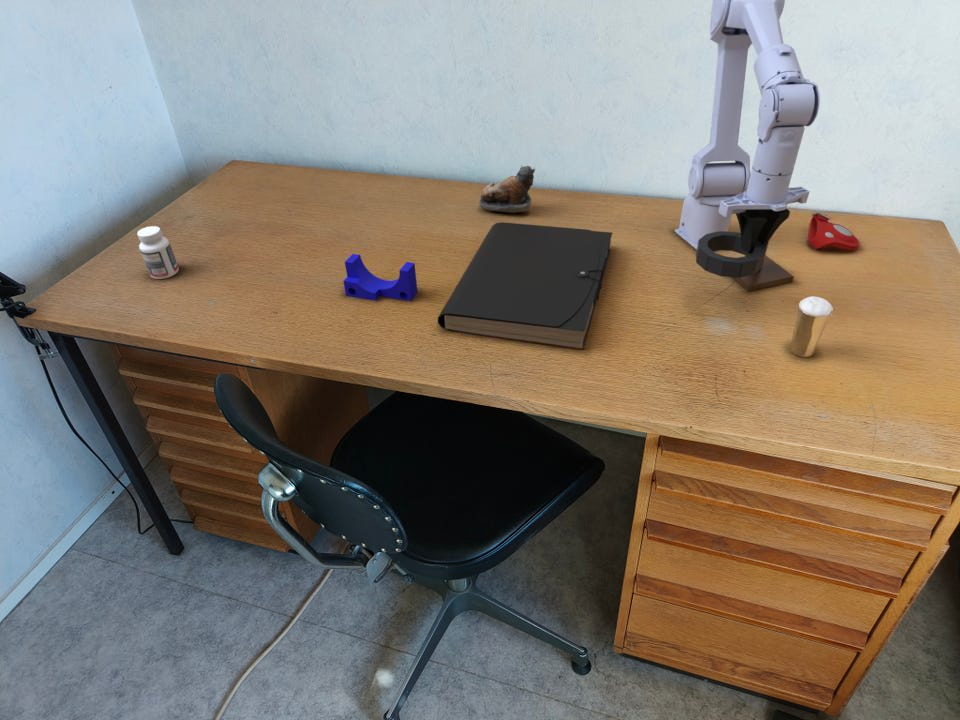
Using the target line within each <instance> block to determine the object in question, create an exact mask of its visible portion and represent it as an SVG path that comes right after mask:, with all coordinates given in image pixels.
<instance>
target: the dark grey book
mask: <svg viewBox="0 0 960 720" xmlns="http://www.w3.org/2000/svg"><path fill="white" fill-rule="evenodd" d="M612 237H613V232H612V231H598V230H591V229H584V228H573V227H563V226H550V225H539V224H538V225H537V224H528V223H527V224H526V223H515V222H503V221H501V222H500V221H499V222H496V223H494V224H493V225H492V226H491V227H490V228H489V230H488V232H487V234H486V236H485V237H484V239H483V241H482V242H481V244H480V245H479V247H478V248H477V250H476V253H475V254H474V256H473V258H472V259H471V261H470V263H469V264H468V266H467V267H466V269H465V271H464V273H463V274H462V276H461V277H460V280H459V281H458V283H457V284H456V286H455V288H454V289H453V291H452V293H451V294H450V296H449V298H448V300H447V301H446V303H445V305H444V307H443V308H442V309H441V311H440V313H439V315H438V316H437V323H438V325H439V326H440V328H441V329H443V330H446V331H448V332H454V333H460V334H468V335H476V336H483V337H490V338H497V339H505V340H511V341H519V342H525V343H534V344H541V345H549V346H555V347H563V348H569V349H570V348H571V349H575V350H576V349H577V350H585V346H586V342H587V338H588V335H589V331H590V327H591V324H592V320H593V316H594V314H595V313H594V312H595V309H596V306H597V302H598V301H599V298H600V291H601V290H602V286H603V280H604V276H605V273H606V269H607V266H608V262H609V260H610V259H609V258H610V255H611V251H612V248H611V242H612Z"/></svg>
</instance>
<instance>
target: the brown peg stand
mask: <svg viewBox="0 0 960 720" xmlns="http://www.w3.org/2000/svg"><path fill="white" fill-rule="evenodd" d="M769 244H770V241H769V242H768V243H767V245H766V247H765V256H764V260H763V263H762V267H761V269H760V270H758V271H757V272H756V273H755V274H754V275H750V276H745V277H740V278H735V277H730V278H731V279H733V280H734V281H735V282H736V283H737V284H738V285H740V286H741V287H742V288H743V289H745V290H746V291H747V292H753V291H757V290H762V289H766V288H770V287H775V286H780V285H785V284H789V283H793V280H794V275H793V274H791V273H790V272H788V271H787V270H786V269H785V268H783V267H782V266H780V265H779V264H778V263H777V262H775V261H774V260H773V259H771V258H770V257H768V256H767V255H766V254H767V251H768V247H769ZM742 257H746V256H745V255H743V256H739V257H738V258H742Z"/></svg>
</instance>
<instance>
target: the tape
mask: <svg viewBox="0 0 960 720" xmlns="http://www.w3.org/2000/svg"><path fill="white" fill-rule="evenodd" d="M717 251H726V252H727V251H730V252H735V253H737V254H740V255H743V256H741V257H742V258H739V257H734V256H733V257H732V256H725V255H722V254H719V253H716V252H717ZM765 255H766V254H765V249H764V245H763V244H762V243H761V242H759V241H758V240H757V241H756V245H755V248H754V250H753V252H752V253H747V252H746V251H744V250H743V249H742V248H741V232H737V231H728V232H726V231H719V232H714V233H708V234H706V235H704V236H703V237H702V238H700V239H699V241H698V246H697V250H696V252H695V263H696V264H697V265H698V266H699V267H700V268H701V269H702V270H704V271H705V272H707V273H710V274H713V275H716V276H719V277H724V278H731V277H735V278H740V277H745V276H750V275H754V274H755V273H756V272H757V271H758V270H760V269H761V267H762V263H763V260H764V256H765ZM744 256H746V257H744Z"/></svg>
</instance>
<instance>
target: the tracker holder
mask: <svg viewBox="0 0 960 720" xmlns="http://www.w3.org/2000/svg"><path fill="white" fill-rule="evenodd" d="M811 216H812V217H811V220H810V221H809V229H808V235H807V239H806V242H807V243H808V244H809V245H810V246H811V247H813V248H814V249H816V250H818V249H821V248H823V247H835V248H836V247H837V248H839V249H843V250H848V251H856V250H857V249H858V247H859V246H860V241H859V240H858V238H857V237H856V236H855V235H854V233H853V232H851V230H849V229H848V228H846V227H845V226H843V225H841V224H838V223H834V222H830V221H831V220H832V218H831V217H830V216H829V215H827V214H826V213H824V212H821V211H819V210H818V211H815V212H812V213H811Z"/></svg>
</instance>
